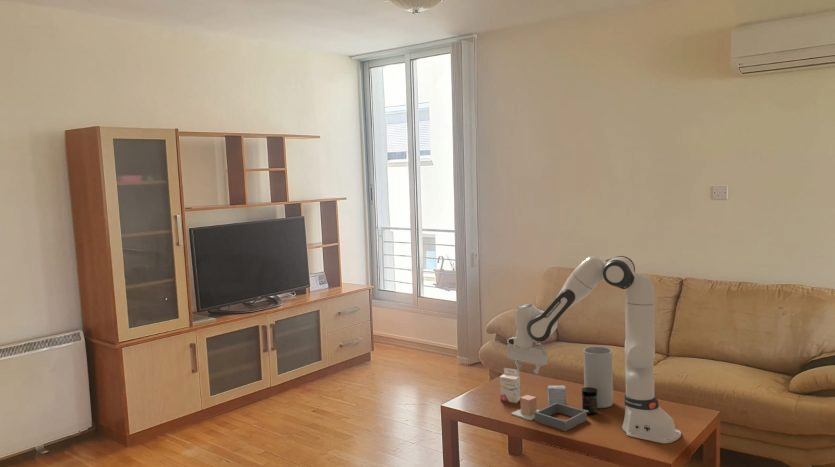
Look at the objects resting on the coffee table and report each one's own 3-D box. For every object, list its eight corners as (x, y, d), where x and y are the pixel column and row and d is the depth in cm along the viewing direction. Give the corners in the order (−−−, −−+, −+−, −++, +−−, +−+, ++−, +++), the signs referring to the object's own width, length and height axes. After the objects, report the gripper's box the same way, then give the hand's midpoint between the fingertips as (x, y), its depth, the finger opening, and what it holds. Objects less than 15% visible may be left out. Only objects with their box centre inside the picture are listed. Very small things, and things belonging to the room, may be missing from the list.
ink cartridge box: (500, 400, 293) (498, 370, 291) (504, 397, 297) (503, 367, 295) (516, 403, 288) (515, 372, 287) (521, 399, 292) (520, 369, 291)
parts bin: (586, 420, 265) (586, 411, 264) (565, 431, 254) (565, 421, 254) (556, 411, 276) (556, 402, 276) (535, 421, 266) (534, 412, 266)
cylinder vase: (618, 404, 281) (618, 350, 279) (601, 410, 274) (599, 355, 272) (596, 396, 292) (595, 345, 289) (579, 403, 285) (577, 350, 282)
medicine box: (565, 403, 285) (564, 385, 284) (566, 407, 281) (566, 388, 280) (547, 403, 286) (547, 385, 285) (548, 407, 282) (548, 388, 281)
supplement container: (600, 412, 273) (600, 389, 272) (593, 416, 268) (593, 393, 267) (586, 408, 278) (585, 386, 277) (579, 413, 273) (578, 390, 272)
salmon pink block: (536, 412, 274) (536, 397, 273) (529, 415, 271) (529, 400, 270) (527, 409, 278) (527, 394, 277) (520, 412, 274) (520, 397, 274)
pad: (546, 413, 274) (546, 412, 274) (530, 420, 267) (530, 419, 267) (526, 407, 282) (526, 406, 282) (511, 414, 275) (511, 413, 275)
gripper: (550, 343, 266) (551, 374, 267) (513, 336, 281) (514, 365, 282) (541, 346, 262) (542, 378, 263) (504, 339, 277) (505, 369, 278)
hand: (527, 371), depth 273 cm, fingers open, 8 cm apart
